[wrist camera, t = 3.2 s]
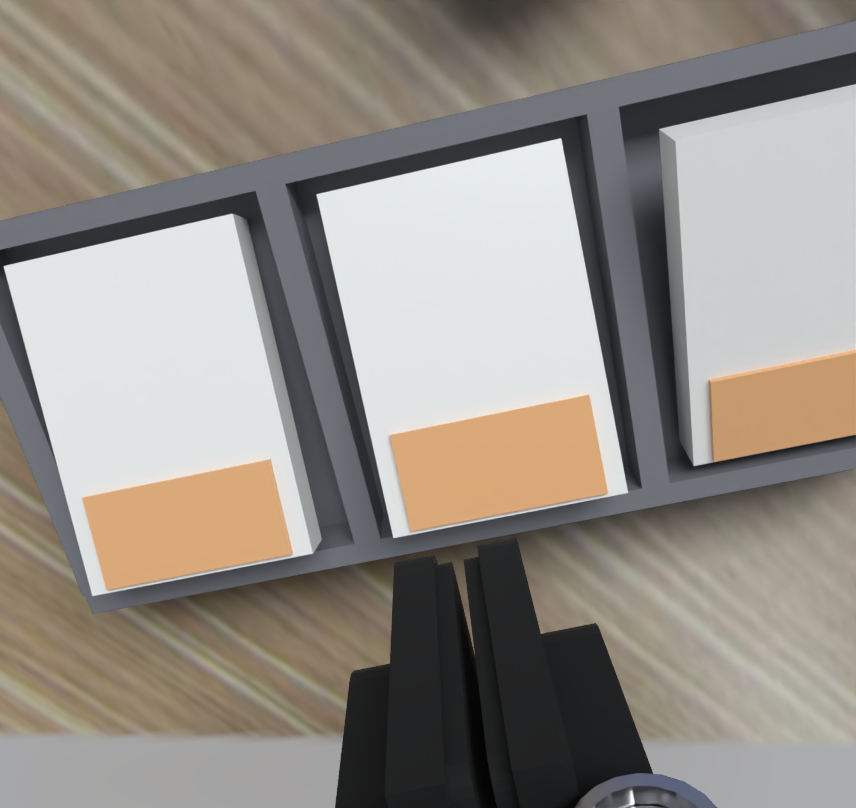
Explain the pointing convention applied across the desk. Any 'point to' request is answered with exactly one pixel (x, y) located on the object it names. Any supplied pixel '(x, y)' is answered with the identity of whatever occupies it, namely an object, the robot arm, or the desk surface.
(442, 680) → the robot arm
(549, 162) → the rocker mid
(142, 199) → the strip
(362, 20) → the desk surface
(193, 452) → the rocker
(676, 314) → the rocker
